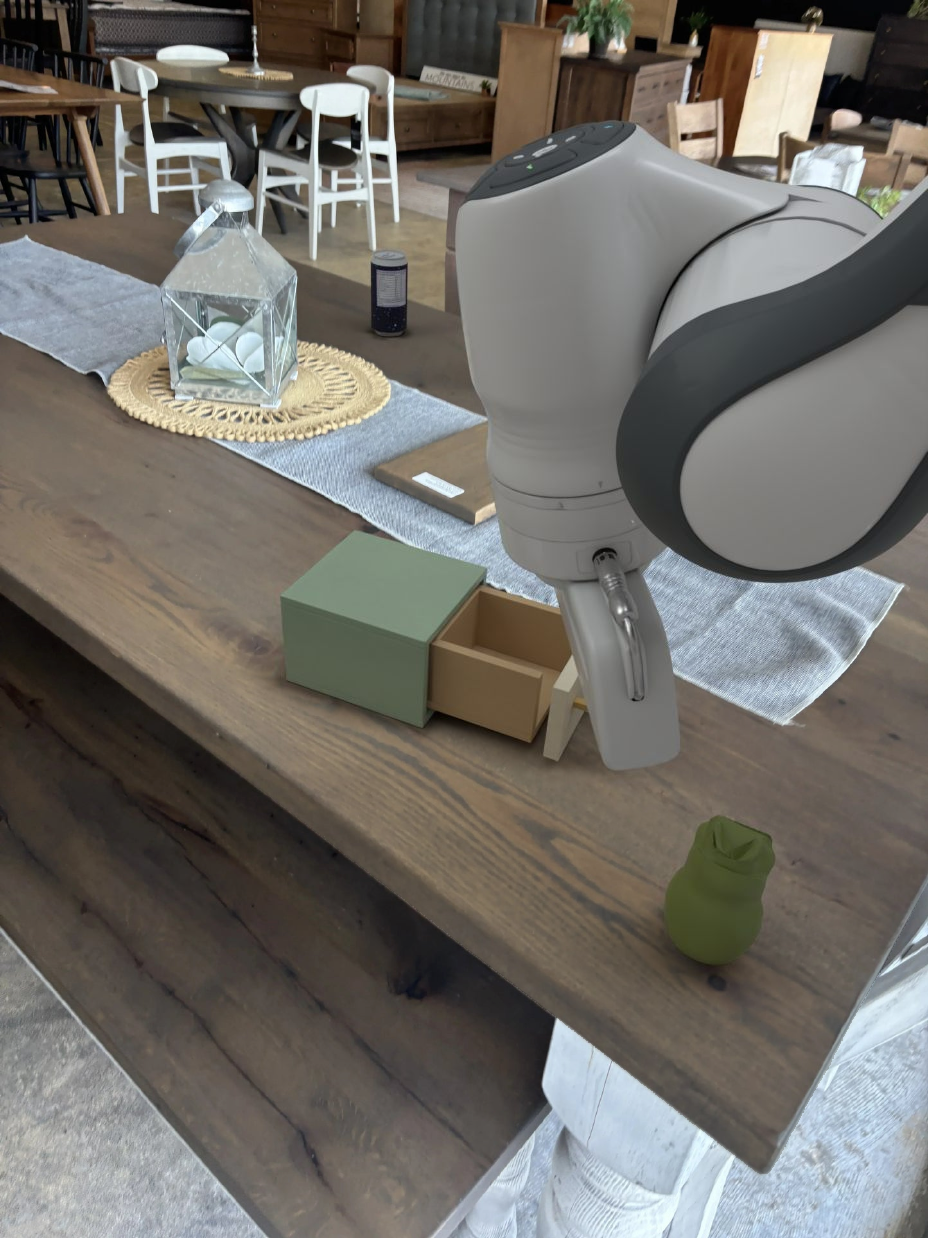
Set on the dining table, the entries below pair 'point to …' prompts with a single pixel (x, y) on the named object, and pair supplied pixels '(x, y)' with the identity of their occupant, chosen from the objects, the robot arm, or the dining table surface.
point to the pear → (719, 892)
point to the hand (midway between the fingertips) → (608, 701)
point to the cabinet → (373, 622)
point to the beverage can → (389, 292)
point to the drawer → (507, 669)
